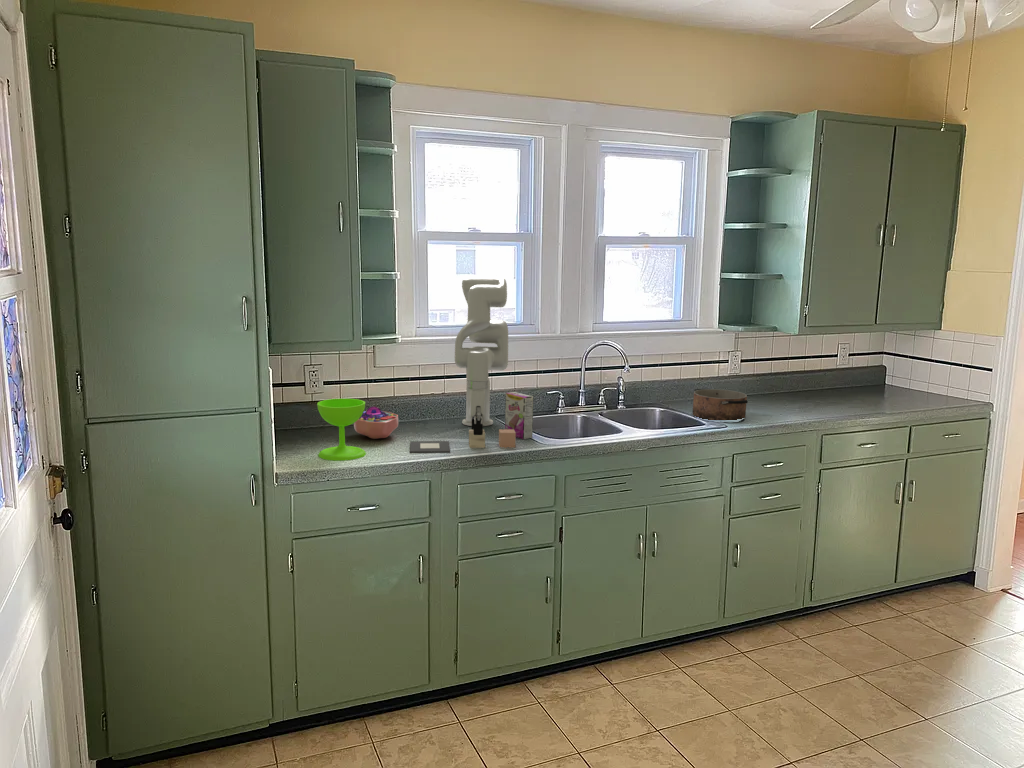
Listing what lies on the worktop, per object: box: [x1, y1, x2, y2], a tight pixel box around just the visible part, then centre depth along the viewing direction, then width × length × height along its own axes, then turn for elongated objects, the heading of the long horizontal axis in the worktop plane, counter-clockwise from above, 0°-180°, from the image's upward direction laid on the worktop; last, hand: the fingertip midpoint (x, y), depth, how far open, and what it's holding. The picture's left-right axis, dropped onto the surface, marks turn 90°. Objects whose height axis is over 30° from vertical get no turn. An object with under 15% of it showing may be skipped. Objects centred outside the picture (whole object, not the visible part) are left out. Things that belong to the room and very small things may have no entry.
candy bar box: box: [504, 391, 534, 440], centre depth 296 cm, size 11×5×16 cm, turn 41°
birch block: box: [468, 429, 486, 449], centre depth 281 cm, size 6×6×6 cm
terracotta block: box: [498, 428, 517, 449], centre depth 282 cm, size 6×6×6 cm
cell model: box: [353, 405, 399, 440], centre depth 290 cm, size 17×20×11 cm
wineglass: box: [316, 398, 367, 462], centre depth 264 cm, size 16×16×18 cm
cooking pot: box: [692, 388, 748, 420], centre depth 338 cm, size 30×22×11 cm
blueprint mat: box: [409, 440, 451, 454], centre depth 277 cm, size 14×14×1 cm
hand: (477, 432), depth 280 cm, fingers open, 9 cm apart
